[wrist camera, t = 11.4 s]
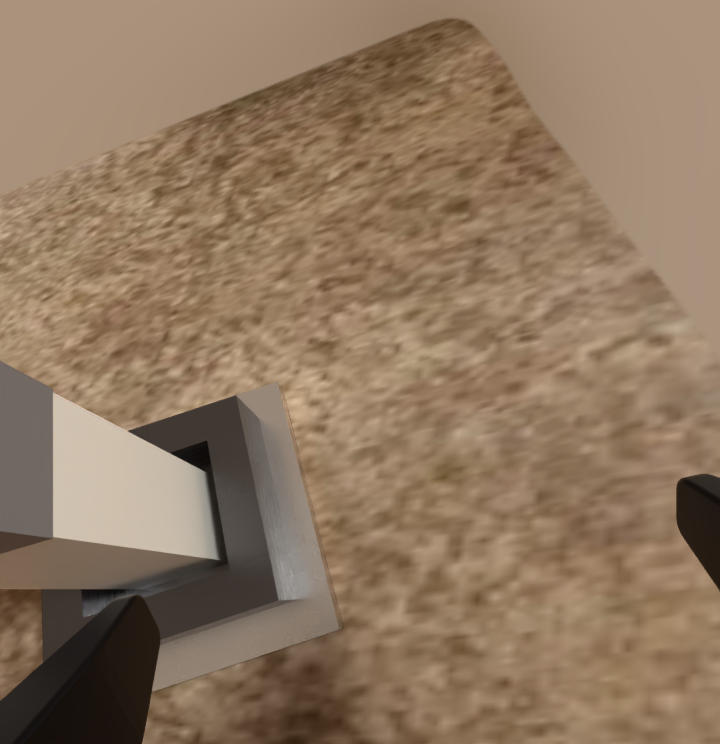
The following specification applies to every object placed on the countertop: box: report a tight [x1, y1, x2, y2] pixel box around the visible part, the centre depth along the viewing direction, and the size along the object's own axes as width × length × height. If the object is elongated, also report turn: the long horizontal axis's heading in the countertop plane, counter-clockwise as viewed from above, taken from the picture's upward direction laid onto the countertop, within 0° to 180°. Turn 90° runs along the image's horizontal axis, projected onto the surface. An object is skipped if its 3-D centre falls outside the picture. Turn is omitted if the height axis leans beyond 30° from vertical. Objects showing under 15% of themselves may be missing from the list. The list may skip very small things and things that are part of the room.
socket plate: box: [42, 382, 343, 692], centre depth 21 cm, size 11×11×4 cm
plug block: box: [0, 361, 229, 589], centre depth 16 cm, size 4×4×13 cm
